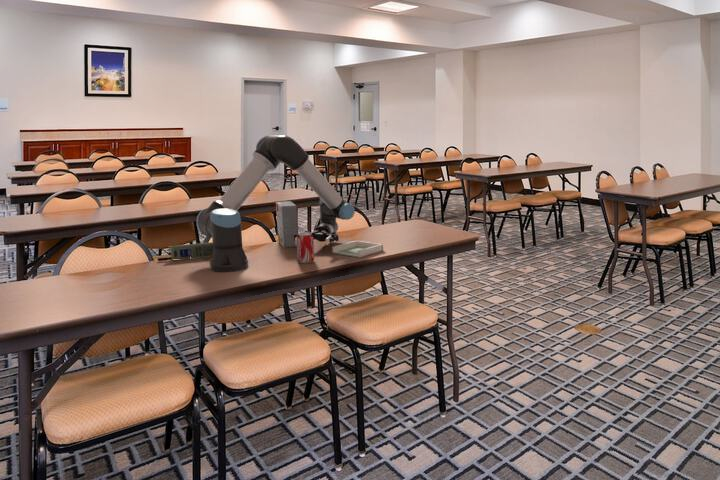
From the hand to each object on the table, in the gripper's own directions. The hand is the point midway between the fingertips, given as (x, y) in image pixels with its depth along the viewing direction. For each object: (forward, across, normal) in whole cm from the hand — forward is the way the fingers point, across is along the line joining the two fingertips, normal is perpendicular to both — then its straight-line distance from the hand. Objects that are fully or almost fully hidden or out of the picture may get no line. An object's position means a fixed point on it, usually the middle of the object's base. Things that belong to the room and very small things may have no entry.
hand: (311, 241), depth 242 cm
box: (-11, -18, -7) cm, 22 cm away
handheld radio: (+6, +55, -7) cm, 56 cm away
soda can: (+8, 0, -7) cm, 11 cm away
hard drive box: (-26, +19, -7) cm, 33 cm away
